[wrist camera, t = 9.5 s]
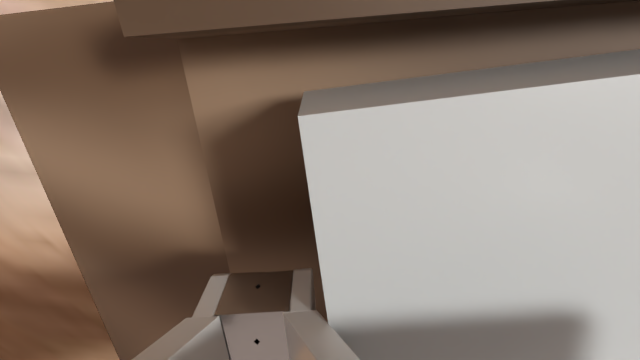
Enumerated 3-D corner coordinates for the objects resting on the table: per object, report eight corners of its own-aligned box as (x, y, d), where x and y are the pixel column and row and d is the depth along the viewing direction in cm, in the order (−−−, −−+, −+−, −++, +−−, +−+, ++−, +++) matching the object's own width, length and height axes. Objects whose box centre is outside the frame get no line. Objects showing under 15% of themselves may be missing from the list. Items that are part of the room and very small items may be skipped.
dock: (-12, 20, 9) (-228, 3, 6) (934, -61, 9) (1382, -139, 5) (137, 373, 15) (79, 480, 11) (720, 334, 15) (859, 433, 11)
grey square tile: (305, 86, 9) (297, 116, 5) (684, 38, 8) (969, 33, 5) (340, 349, 13) (350, 475, 9) (601, 323, 12) (725, 443, 9)
